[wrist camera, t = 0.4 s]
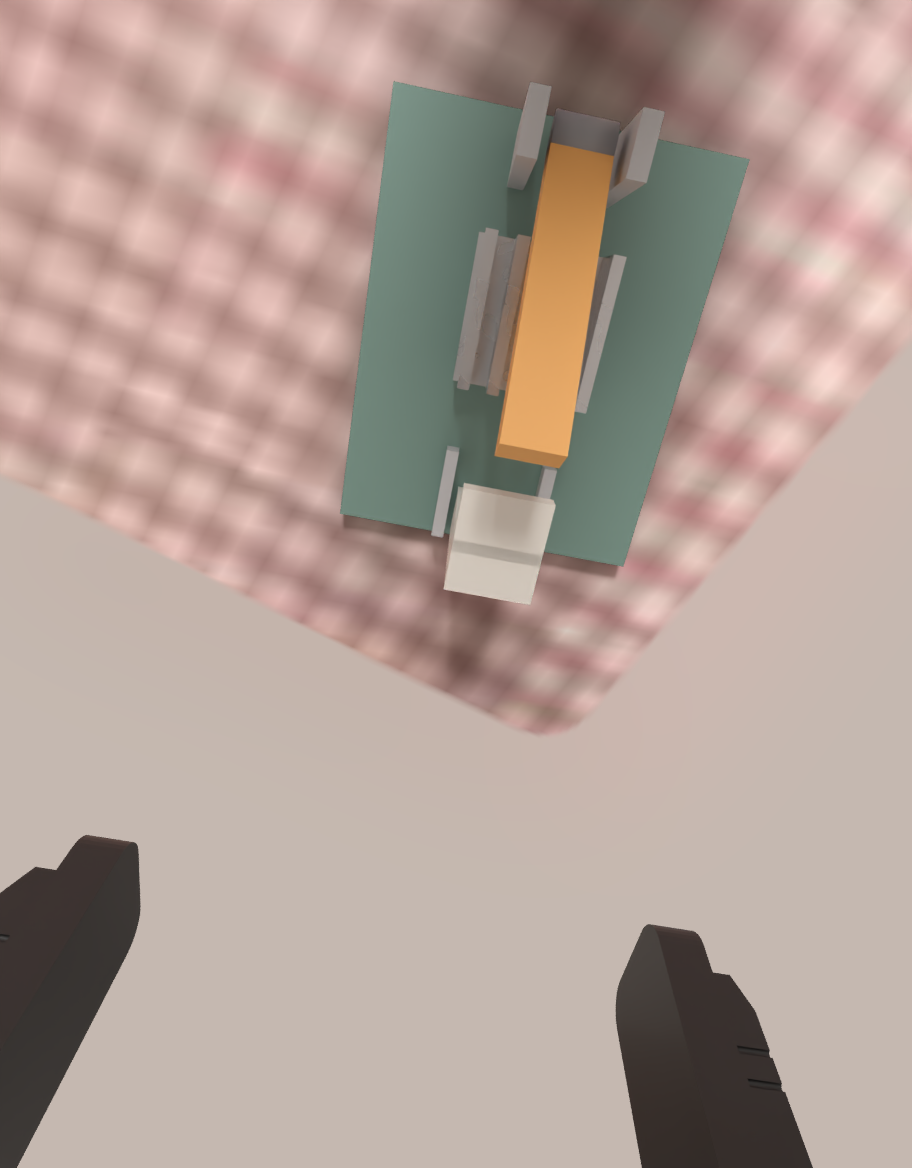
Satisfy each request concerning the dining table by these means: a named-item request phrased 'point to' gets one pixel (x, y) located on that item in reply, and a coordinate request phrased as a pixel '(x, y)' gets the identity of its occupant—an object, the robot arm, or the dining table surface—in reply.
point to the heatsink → (498, 312)
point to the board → (438, 301)
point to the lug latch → (497, 543)
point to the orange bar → (558, 290)
